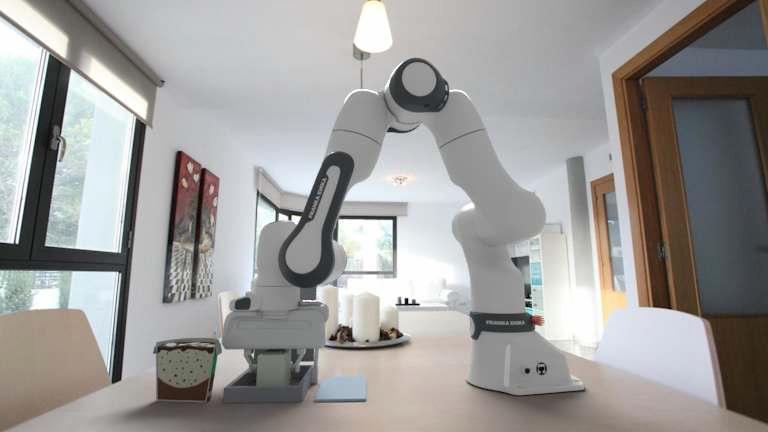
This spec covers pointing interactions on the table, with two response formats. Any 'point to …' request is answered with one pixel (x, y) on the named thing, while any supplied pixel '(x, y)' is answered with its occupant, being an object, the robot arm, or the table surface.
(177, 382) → the food container
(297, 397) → the case
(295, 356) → the lid
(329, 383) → the mat
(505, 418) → the table surface
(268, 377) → the module
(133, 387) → the table surface
